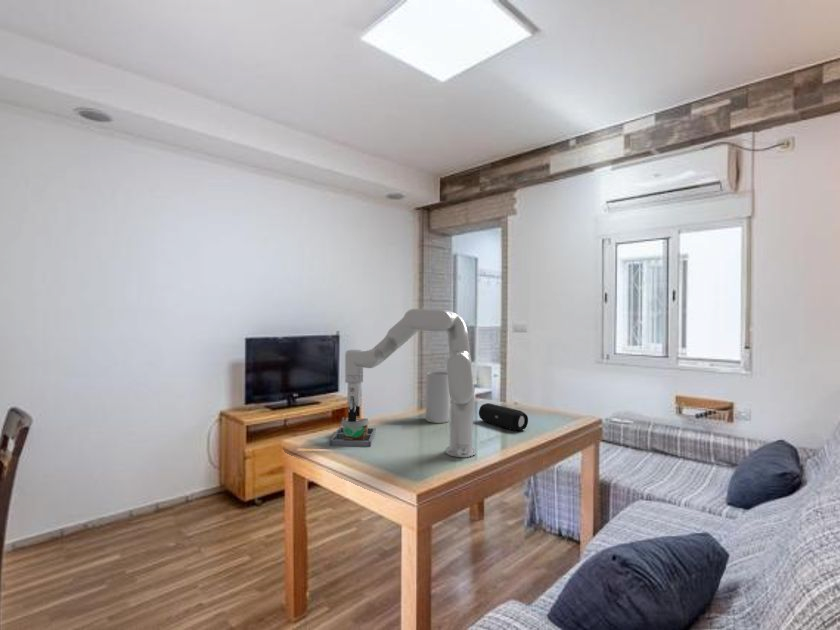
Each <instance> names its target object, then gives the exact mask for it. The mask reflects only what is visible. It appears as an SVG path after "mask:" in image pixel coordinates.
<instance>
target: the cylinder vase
mask: <svg viewBox="0 0 840 630" xmlns="http://www.w3.org/2000/svg"><path fill="white" fill-rule="evenodd" d="M425 392H426V394H425V397H426V398H425V399H426V400H425V402H426V403H425V420H426V421H427V422H428V423H431V424H446V423H448V422H450V409H451V397H450V394H449V386H448V374H447V371H429V372H427V373H426V391H425Z"/></svg>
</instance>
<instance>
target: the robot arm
mask: <svg viewBox="0 0 840 630" xmlns="http://www.w3.org/2000/svg"><path fill="white" fill-rule="evenodd" d="M420 331H422V332H423V331H424V332H425V331H426V332H446V333H447V334H446V335H447V338H448V339H447V340H448V341H447V343H448V349H449V350H448V353H449V354H448V356H449V357H448V358H447V360H446V361H447V362H446V372H447V374H448V386H449V394H450V414H449V440H448V441H449V445H448V446H447V447H446V448H445V454H447V455H448V456H451V457H454V458H470V456H471V457H473V455H474V456H475V455H476V454H477V450H476V449H475V448H474V447H473V440H474V439H473V435H474V434H473V433H474V432H473V431H474V413H475V411H474V410H475V408H474V406H475V393H476V392H475V384H474V382H473V372H472V361H473V360H472V357H471V347H470V340H469V332H468V327H467V325H466V323H465V321H464V319H463V318H462V317H461V316H460V315H458V314H457V313H455V312H453V311H452V310H448V309H419V308H411V309H409V310H408V311H406V312H405V314H404V316H403V317H402V318H401V319H400V320H399V321H398V322H396V323H395V324H394V325H393V326H392V327H390V329H388V331H387V333H386V335H385V336H384V337H383V338H382V340H381V341H379V342H378V344H376V345H375V346H374V347H373V348H371V349H369V350H360V349H348V350H346V351H345V354H344V355H345V363H344V366H345V367H344V368H345V369H344V372H345V373H344V374H345V375H344V377H345V378H344V379H345V381H344V382H345V383H346V384H347V406H348V412H347V413H348V414H347V416H348V417H347V418H348V421H349V422H355V421H356V418H357V417H359V416H360V406H361V405H362V402H363V398H362V395H363V394H362V383H363V382H364V368H365V369H373V368H376V367H377V366H380V365H381V364H382V363H383V362H384V361H385V360H386V359H388V358H389V357H390V356H392V354H394V353H395V352H396V351H397V350H398V349H400V348H401V347H402V346H403V345H404V344H405V343H407V342H408V341H409V340H410V339H411V338H412V337H414V335H416V334H417V333H418V332H420Z"/></svg>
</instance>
